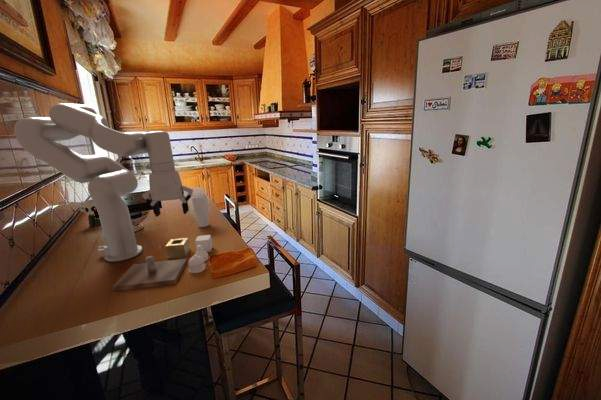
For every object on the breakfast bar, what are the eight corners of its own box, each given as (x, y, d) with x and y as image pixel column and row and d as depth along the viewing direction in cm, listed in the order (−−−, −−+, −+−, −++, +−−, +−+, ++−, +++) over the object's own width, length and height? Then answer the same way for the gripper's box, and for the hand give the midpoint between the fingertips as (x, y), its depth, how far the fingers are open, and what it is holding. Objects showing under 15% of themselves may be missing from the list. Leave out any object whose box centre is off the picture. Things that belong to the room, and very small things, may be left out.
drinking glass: (213, 224, 137) (209, 194, 133) (202, 229, 132) (197, 198, 128) (204, 222, 141) (200, 193, 137) (193, 227, 135) (188, 196, 131)
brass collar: (167, 258, 104) (165, 246, 102) (173, 251, 110) (170, 239, 108) (185, 256, 104) (183, 244, 103) (190, 249, 110) (188, 237, 109)
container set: (199, 248, 111) (197, 235, 110) (213, 247, 112) (211, 234, 110) (187, 274, 92) (184, 259, 91) (204, 272, 93) (201, 257, 91)
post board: (113, 291, 85) (108, 271, 83) (134, 268, 98) (129, 251, 96) (175, 283, 86) (171, 264, 85) (187, 262, 100) (184, 245, 98)
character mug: (81, 228, 143) (74, 204, 139) (87, 224, 149) (81, 200, 146) (106, 225, 146) (100, 201, 142) (110, 221, 152) (105, 197, 149)
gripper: (132, 171, 94) (143, 219, 98) (185, 167, 96) (194, 215, 100) (141, 168, 101) (151, 213, 105) (191, 164, 103) (198, 208, 107)
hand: (172, 214), depth 103 cm, fingers open, 9 cm apart
